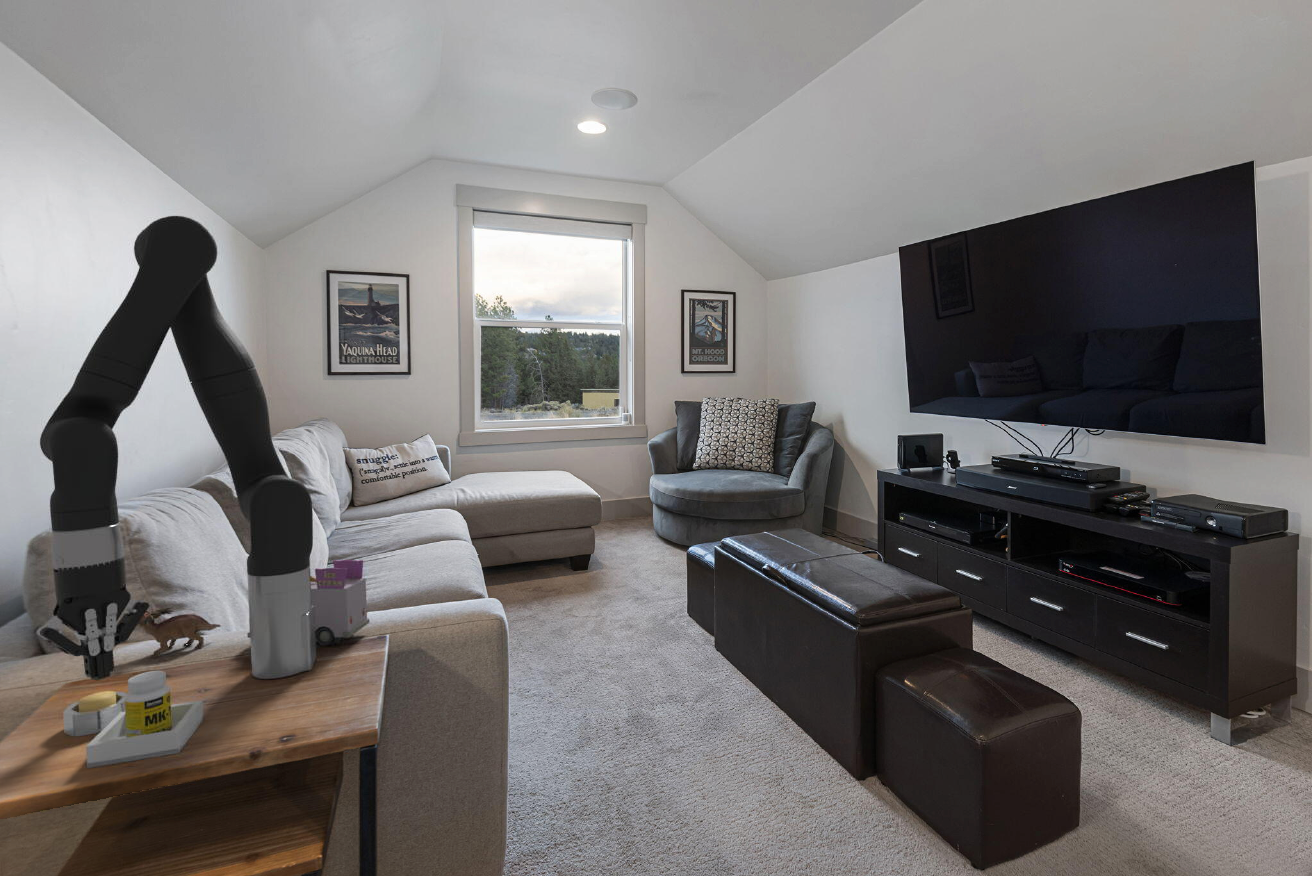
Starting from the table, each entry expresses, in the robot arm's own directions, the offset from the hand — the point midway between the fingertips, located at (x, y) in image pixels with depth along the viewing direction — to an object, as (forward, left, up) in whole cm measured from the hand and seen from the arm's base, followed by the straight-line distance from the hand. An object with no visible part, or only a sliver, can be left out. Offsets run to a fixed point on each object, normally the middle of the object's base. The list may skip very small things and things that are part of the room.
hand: (100, 677), depth 90 cm
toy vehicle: (-23, -26, -7) cm, 35 cm away
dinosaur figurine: (0, -30, -7) cm, 31 cm away
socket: (0, 0, -7) cm, 7 cm away
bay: (-9, +9, -7) cm, 14 cm away
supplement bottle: (-9, +9, -6) cm, 14 cm away
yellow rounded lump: (0, 0, -6) cm, 6 cm away
